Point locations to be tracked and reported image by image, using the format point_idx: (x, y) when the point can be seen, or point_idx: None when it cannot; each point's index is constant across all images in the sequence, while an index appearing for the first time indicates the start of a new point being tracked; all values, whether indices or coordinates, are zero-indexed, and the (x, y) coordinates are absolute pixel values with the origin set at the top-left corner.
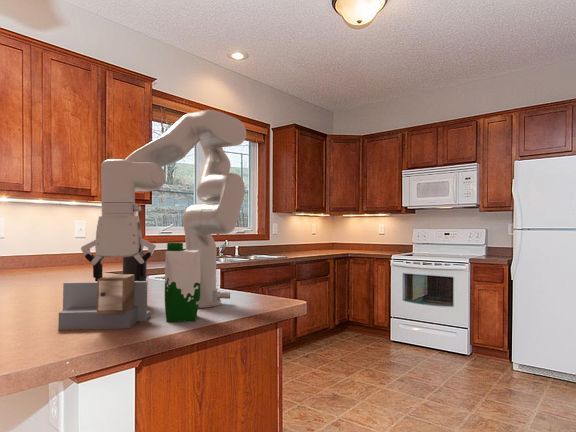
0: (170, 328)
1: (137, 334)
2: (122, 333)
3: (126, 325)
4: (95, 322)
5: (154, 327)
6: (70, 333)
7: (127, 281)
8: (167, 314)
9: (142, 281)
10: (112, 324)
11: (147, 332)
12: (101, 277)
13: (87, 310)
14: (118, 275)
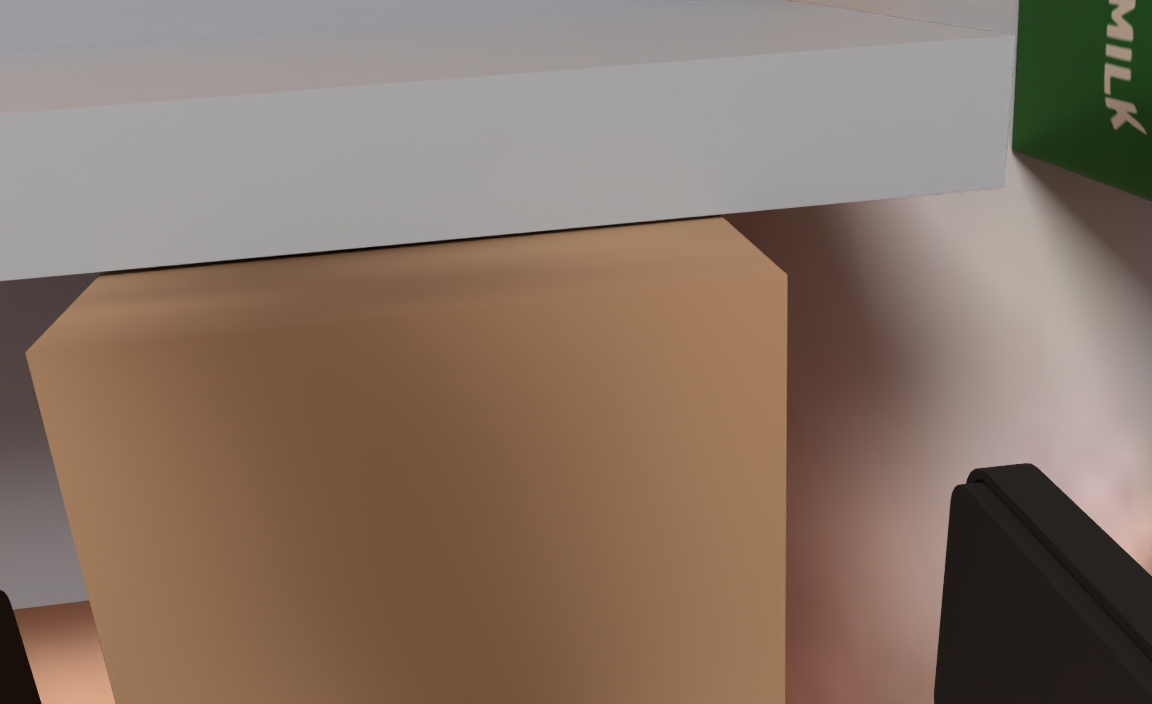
0: (1074, 428)
1: (788, 643)
2: None
3: None
4: None
5: (904, 389)
6: (75, 637)
7: None
8: (1077, 167)
9: (896, 81)
10: None
11: (867, 576)
12: (2, 683)
13: (35, 490)
14: (415, 562)
